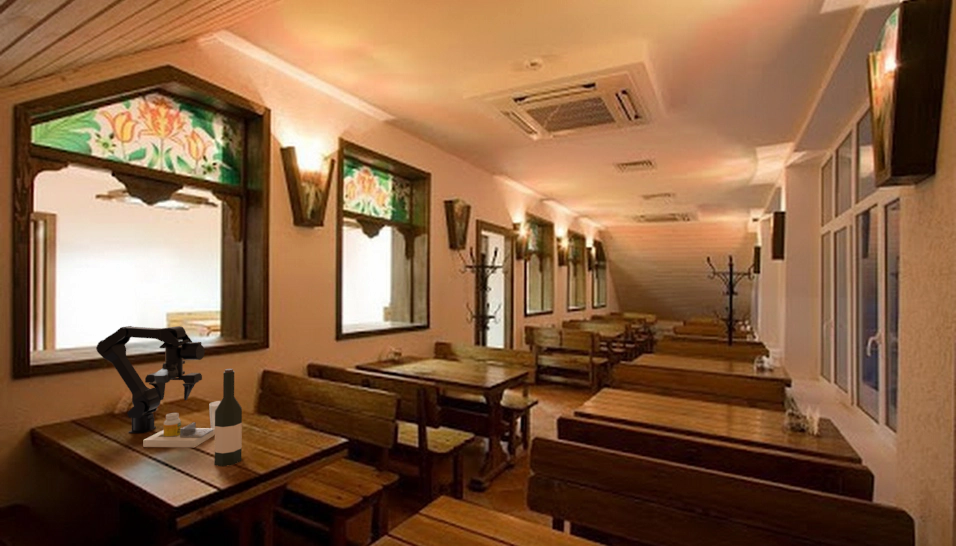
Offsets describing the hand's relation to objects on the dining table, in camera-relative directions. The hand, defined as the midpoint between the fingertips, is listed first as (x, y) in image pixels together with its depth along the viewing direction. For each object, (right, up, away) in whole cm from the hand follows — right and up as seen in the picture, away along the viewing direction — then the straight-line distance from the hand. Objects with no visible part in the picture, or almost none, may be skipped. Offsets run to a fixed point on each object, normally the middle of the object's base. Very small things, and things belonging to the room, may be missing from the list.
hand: (173, 399), depth 184 cm
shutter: (+15, -10, -10) cm, 20 cm away
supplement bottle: (+6, -12, -10) cm, 17 cm away
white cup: (+16, -12, +4) cm, 21 cm away
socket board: (+9, -12, -10) cm, 18 cm away
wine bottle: (+36, -13, -28) cm, 47 cm away
